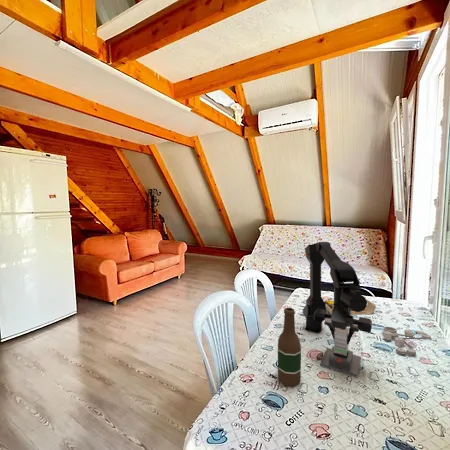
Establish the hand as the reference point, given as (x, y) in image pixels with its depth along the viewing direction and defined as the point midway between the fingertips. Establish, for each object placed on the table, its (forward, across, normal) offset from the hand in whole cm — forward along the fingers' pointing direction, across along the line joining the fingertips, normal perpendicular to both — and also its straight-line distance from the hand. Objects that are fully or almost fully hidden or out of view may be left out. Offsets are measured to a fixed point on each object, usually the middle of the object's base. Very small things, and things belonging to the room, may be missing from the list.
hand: (341, 342), depth 95 cm
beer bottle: (+8, -13, -19) cm, 24 cm away
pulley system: (+8, +19, +31) cm, 37 cm away
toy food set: (+8, -7, +55) cm, 56 cm away
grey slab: (+4, 0, 0) cm, 4 cm away
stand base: (+8, 0, 0) cm, 8 cm away
